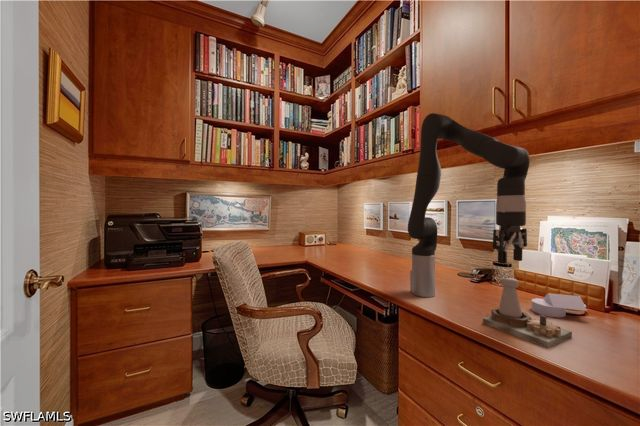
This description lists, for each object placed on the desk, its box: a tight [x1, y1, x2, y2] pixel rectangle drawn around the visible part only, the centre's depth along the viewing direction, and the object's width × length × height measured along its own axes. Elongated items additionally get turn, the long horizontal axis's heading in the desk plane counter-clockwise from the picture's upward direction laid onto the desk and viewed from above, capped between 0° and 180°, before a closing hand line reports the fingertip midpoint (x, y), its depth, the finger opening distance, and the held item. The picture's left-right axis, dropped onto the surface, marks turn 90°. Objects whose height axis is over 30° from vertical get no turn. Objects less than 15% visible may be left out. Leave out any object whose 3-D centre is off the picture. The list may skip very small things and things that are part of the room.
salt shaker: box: [498, 277, 523, 319], centre depth 81 cm, size 6×6×13 cm
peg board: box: [482, 307, 573, 349], centre depth 77 cm, size 17×13×6 cm
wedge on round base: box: [531, 292, 588, 318], centre depth 90 cm, size 9×7×13 cm
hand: (510, 261), depth 81 cm, fingers open, 8 cm apart
